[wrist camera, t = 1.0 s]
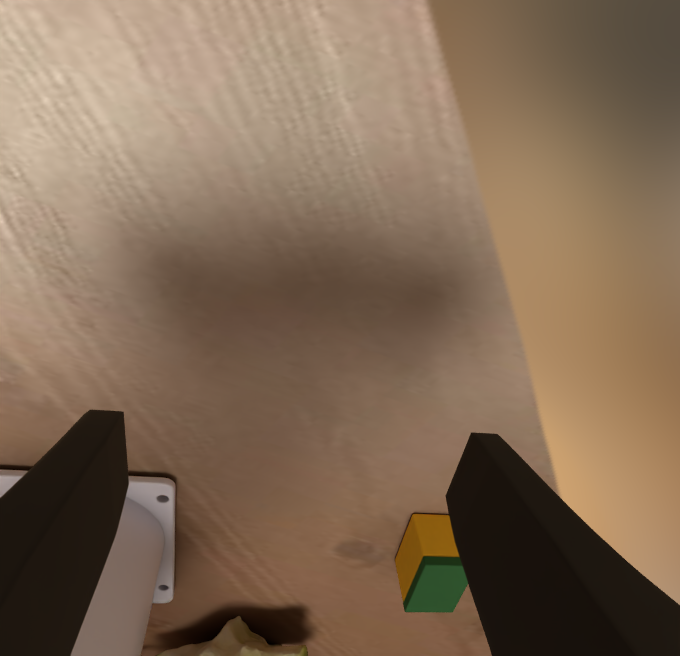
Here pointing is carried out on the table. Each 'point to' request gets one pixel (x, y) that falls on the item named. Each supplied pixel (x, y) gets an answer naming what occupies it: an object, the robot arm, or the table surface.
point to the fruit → (236, 644)
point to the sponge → (430, 565)
